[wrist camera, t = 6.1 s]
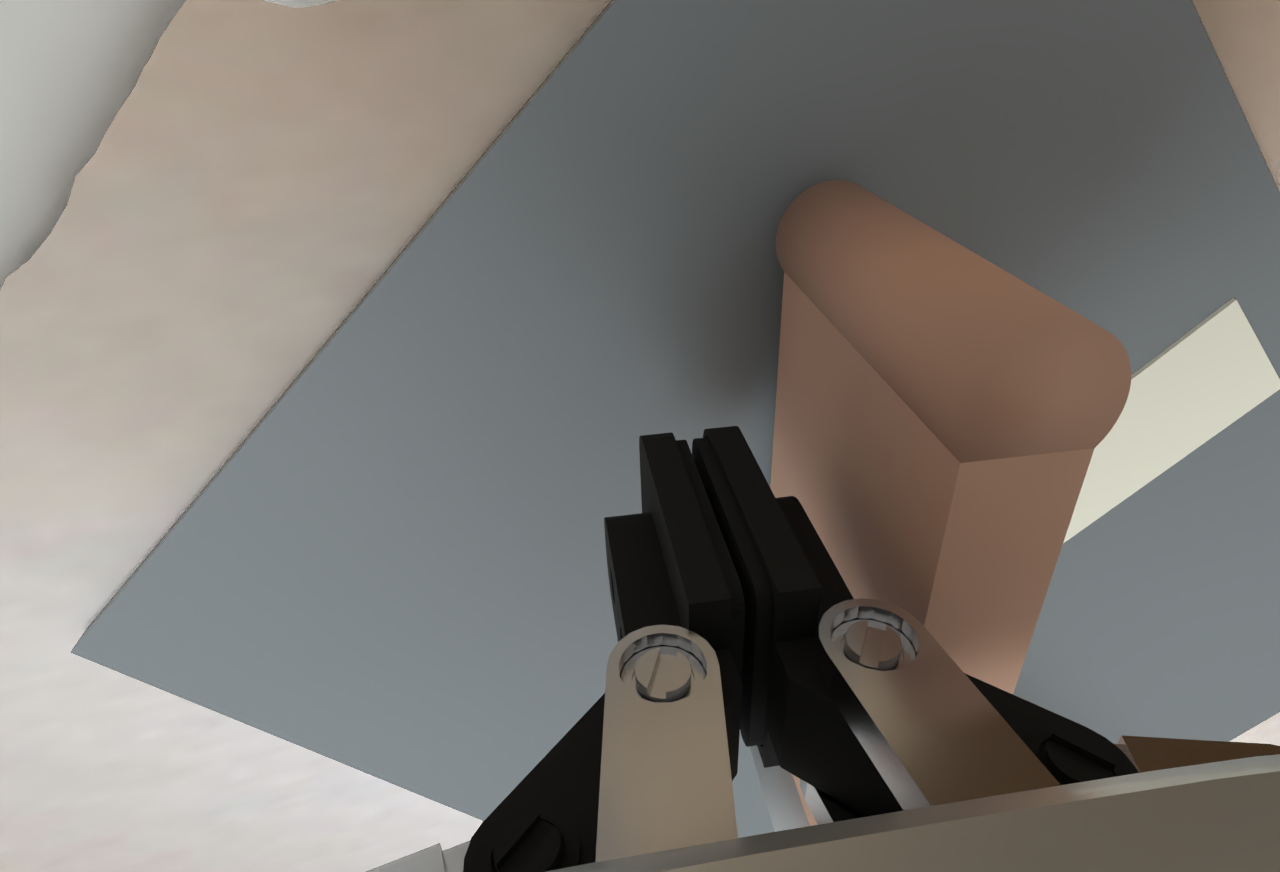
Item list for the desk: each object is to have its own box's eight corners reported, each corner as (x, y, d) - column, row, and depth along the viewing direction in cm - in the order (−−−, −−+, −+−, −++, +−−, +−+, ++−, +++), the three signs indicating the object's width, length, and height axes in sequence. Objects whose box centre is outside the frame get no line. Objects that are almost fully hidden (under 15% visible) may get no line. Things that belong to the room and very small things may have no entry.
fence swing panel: (767, 184, 13) (952, 333, 7) (898, 175, 13) (1174, 313, 8) (740, 744, 21) (818, 1019, 15) (822, 733, 21) (929, 999, 16)
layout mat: (84, 632, 17) (68, 655, 17) (965, -423, 10) (992, -448, 10) (835, 950, 31) (841, 969, 30) (1446, 589, 24) (1470, 605, 23)
